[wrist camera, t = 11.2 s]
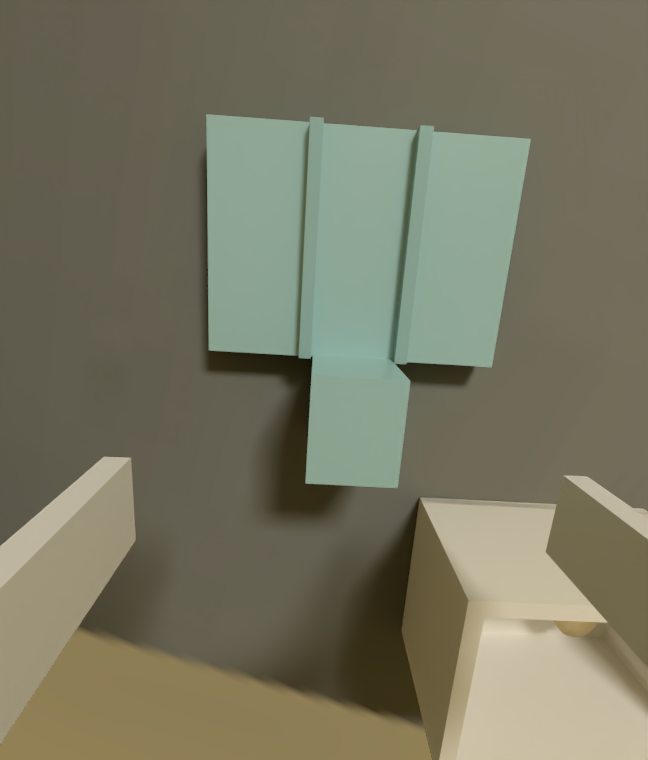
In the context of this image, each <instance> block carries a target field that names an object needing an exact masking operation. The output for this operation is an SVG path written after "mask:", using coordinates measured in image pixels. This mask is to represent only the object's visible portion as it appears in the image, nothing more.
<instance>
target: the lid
mask: <svg viewBox="0 0 648 760" xmlns="http://www.w3.org/2000/svg"><path fill="white" fill-rule="evenodd" d="M433 131H434V126H424V125H420V127H419V128H418V130H406V129H393V128H380V127H367V126H353V125H340V124H327V123H324V118H320V117H310V122H301V121H288V120H275V119H262V118H248V117H235V116H222V115H209V114H207V217H208V323H209V351H226V352H243V353H260V354H277V355H294V356H299V358H306V359H311V357H313V361H312V374H311V392H310V409H309V427H308V445H307V463H306V480H305V484H325V485H345V486H365V487H386V488H398V480H399V472H400V464H401V456H402V447H403V439H404V431H405V422H406V414H407V406H408V397H409V389H410V380H409V379H408V378H407V377H406V376H405V374H404V373H403V372H402V371H401V370H400V369H399V368H398V367H397V366H396V365H395V364H406V363H407V362H412V363H429V364H446V365H463V366H480V367H492V363H493V357H494V351H495V345H496V339H497V333H498V327H499V322H500V316H501V310H502V304H503V298H504V292H505V287H506V281H507V275H508V269H509V263H510V257H511V252H512V246H513V240H514V234H515V228H516V222H517V216H518V211H519V205H520V199H521V193H522V187H523V181H524V176H525V170H526V164H527V158H528V152H529V146H530V140H531V139H524V138H511V137H498V136H485V135H472V134H458V133H445V132H433Z"/></svg>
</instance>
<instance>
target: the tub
mask: <svg viewBox="0 0 648 760" xmlns="http://www.w3.org/2000/svg"><path fill="white" fill-rule="evenodd" d="M556 505H557V504H542V503H522V502H503V501H484V500H464V499H445V498H426V497H420V499H419V506H418V514H417V521H416V528H415V535H414V543H413V550H412V557H411V564H410V572H409V579H408V586H407V593H406V601H405V608H404V615H403V622H402V630H401V632H402V636H403V640H404V644H405V648H406V653H407V657H408V661H409V665H410V669H411V674H412V678H413V682H414V686H415V690H416V695H417V699H418V703H419V707H420V711H421V716H422V720H423V724H424V728H425V733H426V736H427V741H428V745H429V749H430V753H431V757H432V760H648V668H647V666H646V665H645V664H644V663H643V662H642V661H641V660H640V658H639V657H638V656H637V655H636V654H635V653H634V652H633V651H632V649H631V648H630V647H629V646H628V645H627V644H626V643H625V641H624V640H623V639H622V638H621V637H620V636H619V635H618V634H617V632H616V631H615V630H614V629H613V628H612V627H611V626H610V624H609V623H608V622H607V621H606V620H605V619H604V618H603V617H602V615H601V614H600V613H599V612H598V611H597V610H596V609H595V607H594V606H593V605H592V604H591V603H590V602H589V601H588V600H587V598H586V597H585V596H584V595H583V594H582V593H581V592H580V590H579V589H578V588H577V587H576V586H575V585H574V584H573V583H572V581H571V580H570V579H569V578H568V577H567V576H566V575H565V573H564V572H563V571H562V570H561V569H560V568H559V567H558V566H557V564H556V563H555V562H554V561H553V560H552V559H551V558H550V556H549V555H548V554H547V553H546V548H547V544H548V539H549V535H550V531H551V526H552V522H553V518H554V513H555V509H556ZM633 509H634V510H636V511H637V512H639V513H640V514H642V515H643V516H645V517H646V518H647V519H648V512H647V511H646V510H645V509H638V508H633Z"/></svg>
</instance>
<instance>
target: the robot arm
mask: <svg viewBox="0 0 648 760" xmlns="http://www.w3.org/2000/svg"><path fill="white" fill-rule="evenodd" d="M135 540H136V536H135V519H134V502H133V484H132V467H131V458H121V457H103V458H102V459H101V460H100V461H99V462H97V463H96V464H95V465H94V466H93V467H92V468H90V469H89V470H88V471H87V472H86V473H85V474H83V475H82V476H81V477H80V478H79V479H78V480H76V481H75V482H74V483H73V484H72V485H71V486H70V487H68V488H67V489H66V490H65V491H64V492H63V493H61V494H60V495H59V496H58V497H57V498H56V499H54V500H53V501H52V502H51V503H50V504H49V505H48V506H46V507H45V508H44V509H43V510H42V511H41V512H39V513H38V514H37V515H36V516H35V517H34V518H32V519H31V520H30V521H29V522H28V523H27V524H25V525H24V526H23V527H22V528H21V529H20V530H19V531H17V532H16V533H15V534H14V535H13V536H12V537H10V538H9V539H8V540H7V541H6V542H5V543H3V544H2V545H1V546H0V744H1V742H2V741H3V739H4V738H5V736H6V735H7V733H8V732H9V730H10V729H11V727H12V726H13V724H14V723H15V721H16V719H17V718H18V717H19V715H20V714H21V712H22V711H23V709H24V708H25V706H26V705H27V703H28V702H29V700H30V699H31V697H32V696H33V694H34V693H35V691H36V690H37V688H38V687H39V685H40V684H41V682H42V681H43V679H44V678H45V676H46V675H47V673H48V672H49V670H50V668H51V667H52V665H53V664H54V662H55V661H56V659H57V658H58V656H59V655H60V653H61V652H62V650H63V649H64V647H65V646H66V644H67V643H68V641H69V640H70V638H71V637H72V635H73V634H74V632H75V631H76V629H77V628H78V626H79V625H80V623H81V622H82V620H83V619H84V617H85V616H86V614H87V613H88V611H89V610H90V608H91V607H92V605H93V604H94V602H95V601H96V599H97V598H98V596H99V595H100V593H101V592H102V590H103V589H104V587H105V586H106V584H107V583H108V581H109V580H110V578H111V577H112V575H113V574H114V572H115V571H116V569H117V567H118V566H119V564H120V563H121V561H122V560H123V558H124V557H125V555H126V554H127V552H128V551H129V549H130V548H131V546H132V545H133V543H134V542H135ZM546 553H547V554H548V555H549V556H550V558H551V559H552V560H553V561H554V562H555V563H556V564H557V566H558V567H559V568H560V569H561V570H562V571H563V572H564V573H565V575H566V576H567V577H568V578H569V579H570V580H571V581H572V583H573V584H574V585H575V586H576V587H577V588H578V589H579V590H580V592H581V593H582V594H583V595H584V596H585V597H586V598H587V600H588V601H589V602H590V603H591V604H592V605H593V606H594V607H595V609H596V610H597V611H598V612H599V613H600V614H601V615H602V617H603V618H604V619H605V620H606V621H607V622H608V623H609V624H610V626H611V627H612V628H613V629H614V630H615V631H616V632H617V634H618V635H619V636H620V637H621V638H622V639H623V640H624V641H625V643H626V644H627V645H628V646H629V647H630V648H631V649H632V651H633V652H634V653H635V654H636V655H637V656H638V657H639V658H640V660H641V661H642V662H643V663H644V664H645V665H646V666H647V668H648V519H647V518H646V517H645V516H643V515H642V514H640V513H639V512H637V511H636V510H634V509H633V508H632V507H630V506H629V505H627V504H626V503H624V502H623V501H622V500H620V499H619V498H617V497H616V496H614V495H613V494H611V493H610V492H609V491H607V490H606V489H604V488H603V487H601V486H600V485H599V484H597V483H596V482H594V481H593V480H591V479H590V478H588V477H587V476H564V475H563V479H562V483H561V488H560V492H559V496H558V501H557V505H556V509H555V513H554V518H553V522H552V526H551V531H550V535H549V539H548V544H547V548H546Z"/></svg>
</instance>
